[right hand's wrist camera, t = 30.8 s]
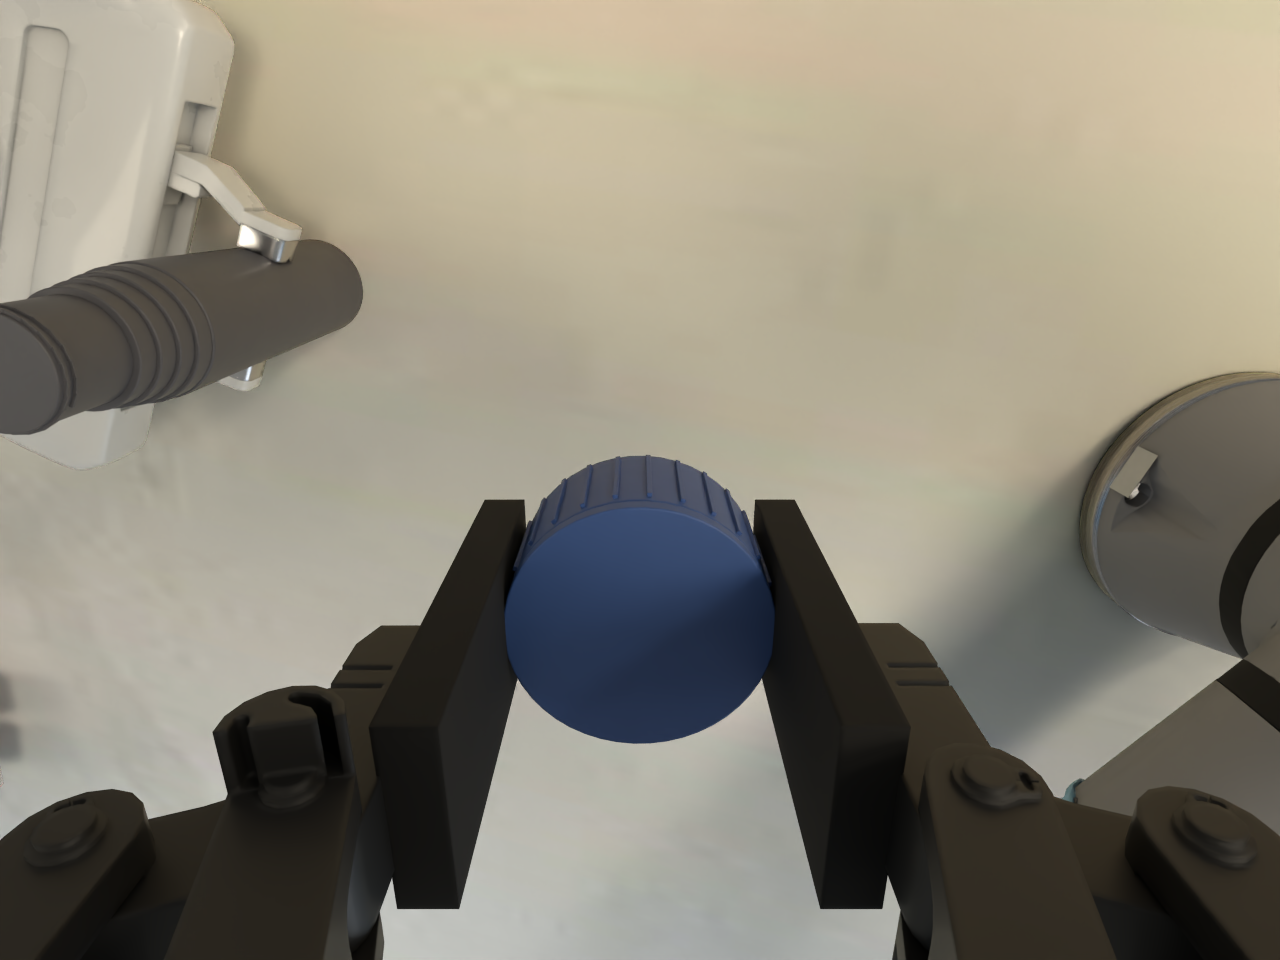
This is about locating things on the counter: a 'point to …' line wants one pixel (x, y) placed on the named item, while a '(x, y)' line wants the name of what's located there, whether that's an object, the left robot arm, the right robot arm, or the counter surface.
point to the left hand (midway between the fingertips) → (275, 311)
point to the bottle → (163, 328)
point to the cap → (639, 602)
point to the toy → (0, 779)
